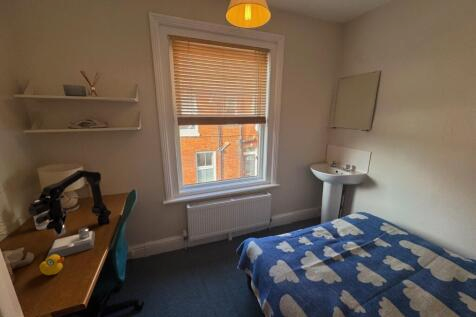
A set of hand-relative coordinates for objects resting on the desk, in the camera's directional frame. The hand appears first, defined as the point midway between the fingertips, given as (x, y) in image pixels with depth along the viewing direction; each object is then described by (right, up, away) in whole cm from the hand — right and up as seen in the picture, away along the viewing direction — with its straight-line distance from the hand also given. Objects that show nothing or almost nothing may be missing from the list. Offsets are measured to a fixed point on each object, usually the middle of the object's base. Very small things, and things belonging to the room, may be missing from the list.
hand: (60, 231), depth 115 cm
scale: (+5, -10, +3) cm, 12 cm away
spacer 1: (0, -1, 0) cm, 1 cm away
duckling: (+12, -14, -17) cm, 25 cm away
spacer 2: (+9, -6, +7) cm, 13 cm away
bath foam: (-32, -5, +23) cm, 40 cm away
